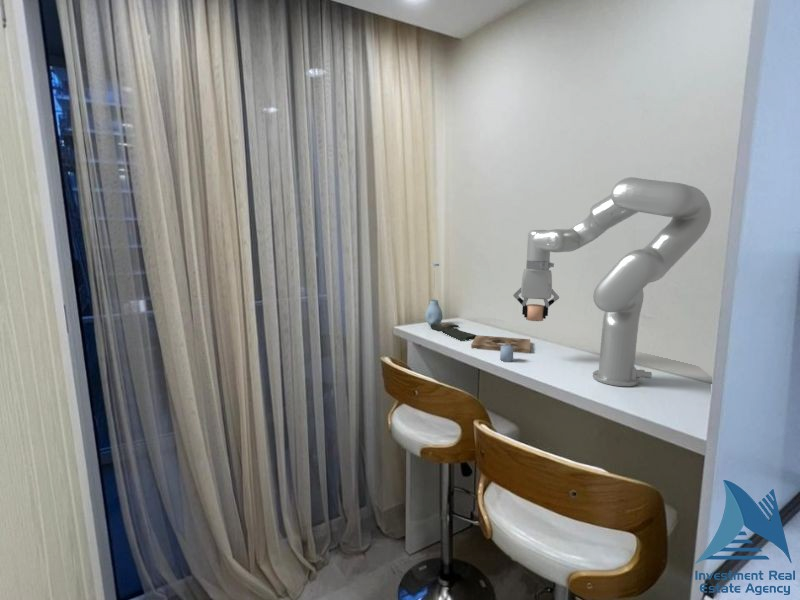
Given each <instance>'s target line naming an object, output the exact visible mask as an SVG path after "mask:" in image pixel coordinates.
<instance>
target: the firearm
mask: <svg viewBox="0 0 800 600" xmlns="http://www.w3.org/2000/svg"><path fill="white" fill-rule="evenodd" d="M452 327H459V328H460V325H458V324H455V323H445V324H439V325H435V324H431V325H430V329H432V330H434V331H437V332H439V331H442V332H443V333H445V334H447V335H446V336H448V335H449V336H448V337H450V336H451V337H450V338H452V337H454V338H456V339H455V340H457V339H458V340H457V341H459V340H460V341H459V342H466V341H465V340H467V341H470V340H469V339H472V340H474V339H475V337H476V335H477V334H474V333H472V332H471V333H470V332H467V331H464V330H463V331H462V330H460V329H459V328H452ZM442 332H441V333H442ZM443 333H442V334H443ZM445 334H444V335H445ZM454 338H453V339H454Z"/></svg>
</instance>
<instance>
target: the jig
mask: <svg viewBox="0 0 800 600" xmlns="http://www.w3.org/2000/svg"><path fill="white" fill-rule="evenodd" d="M475 335H476V337H475V339H473V341H472V343H471V349H474V348H477V349H476V350H488V351H499V352H501V346H502V345H509V346H513V347H514V350H513V353H522V354H531V339H530V338H519V337H518V338H516V337H507V336H506V337H504V336H490V335H479V334H475Z"/></svg>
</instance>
